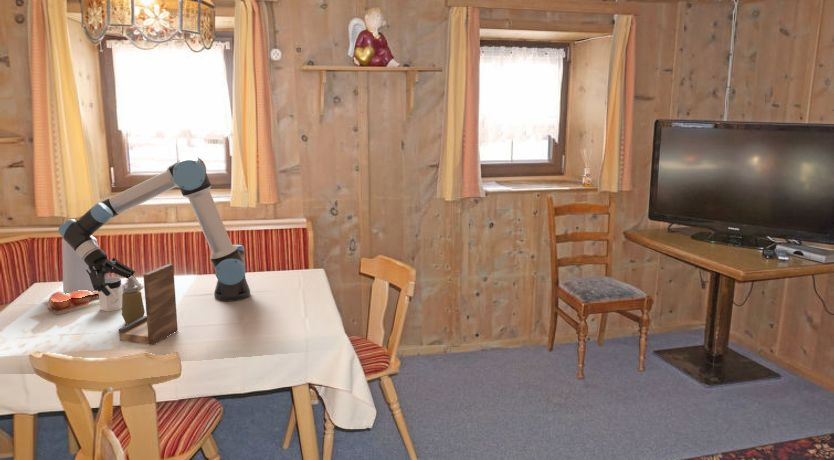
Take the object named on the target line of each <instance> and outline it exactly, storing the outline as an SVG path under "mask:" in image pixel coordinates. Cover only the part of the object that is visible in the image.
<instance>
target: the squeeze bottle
mask: <svg viewBox="0 0 834 460" xmlns="http://www.w3.org/2000/svg"><path fill="white" fill-rule="evenodd" d="M127 280H128V281H127V286H124V291H123V294H122V308H121V316H122V319H123V320H124V322H125V324H126V325H128V324H130V323H132V322H133V321H135V320H137V319H139V318H141V317H143V316H145V314H146V310H145V306H144V302H143V297H142V292H141V290H140V291H138V286H136V285H134V282H133V279H132V277H130V278H129V279H128V278H127Z"/></svg>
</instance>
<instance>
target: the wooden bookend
mask: <svg viewBox="0 0 834 460" xmlns="http://www.w3.org/2000/svg"><path fill="white" fill-rule="evenodd" d="M175 286H176V285H175V271H174V264H173V263H167V264H165V265H162V266H160V267H158V268H155V269H152V270H151V271H148V272H146V273H143V289H144V300H145V302H144V303H145V315H144V316H143V317H141V318H139V319H137V320H135V321H133V322H132V323H130V324H126V325H124V326H122V327H119V328H118V338H119V341H120V342H123V343H124V342H125V343H126V342H127V343H133V344H134V343H135V344H141V345H147V344H149V345H148V346H155V345H157V344H158V342H159V343H160V342H162V341H163V339H164V338H165V339H167V338H168V337H167V336H169V335H170V334H172V333H174V332H175V333H177V332H178V331H179V329H178V314H177V303H176V301H177V300H176V287H175ZM177 330H178V331H177ZM176 331H177V332H176ZM175 333H174V334H175ZM172 335H173V334H172ZM170 336H171V335H170ZM170 336H169V337H170ZM166 337H167V338H166ZM165 339H164V340H165ZM161 340H162V341H161ZM156 343H157V344H156Z"/></svg>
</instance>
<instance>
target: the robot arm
mask: <svg viewBox="0 0 834 460" xmlns="http://www.w3.org/2000/svg"><path fill="white" fill-rule="evenodd" d="M208 176H209V175H208V173H207V167H206V164H205V162H204V161H203V160H202V158H199V157H198V156H195V155H186V156H184V157H181V158H180V159H179V160H177V162H175V163H173V164H172V165H169V166H167V168H166V170H165V171H163V172H160V173H159V174H157V175H154V176H152V177H150V178H148V179H146V180H144V181H142V182H140V183H138V184H136V185H134V186H132V187H129V188H127V189H126V190H123V191H121V192H119V193H117V194H114V195H113V196H111V197H109V198H107V199H104V200H103V201H99V202H97V203H95V204H94V205H93V206H92V207H91V208H90V209H88V210H87V211H86V212H85V213H84V214H83V215H82V216H80V218H78V219H77V220H76V219H74V218H70V219H68V220H66V221H65V222H62V223H61V224H60V225H59V226H58V228H57V232H58V234H59V235H60V236H61V237H62V239H64V240H65V241H66V242H67V243H68V244H69V245H70V246H71V247H72V248H73V249H74V250H75V252H76V253H77V254H78V255H79V256H80V257H81V258H82V259H83V260H84V262H85V263H86V264H87V265H88V266H89V267H88V269H87V270H86V271H87V273H88V274H89V276H90V279H91V282H92V285H93V288H94V290H95V291H96V290H97V291H98V292H100V291H102V292H103V293H104V294H105V295H106V296H108V298H109V299H110V300H111V301H112V302H113V303H115V302H116V301H117V300H118V299H119V298H118V297H117V296H116V294H115V293H114V292H113V291H112V290H111V289H110V288H109V287H108V285H107V286H106V287H105V278H106V277H105V275H106V274H116V275H117V276H121V277H123V278H126V279H127V280H126V281H127V282H128V279H129V278H130V277H132V279H133V282H134V285H136V286H138V291H140V292H141V291H142V290H143V289H144V286H142V285H141V284H140V283H139V281H138V279H137V278H136V277H135V276H134V275H135V273H136V271H135V269H134V270H133V269H132V268H130V267H129V266H127V265H126V264H124V263H122V262H121V261H119V260H118V259H117V258H116V257H112V258H111V259H108V256H107V255H108V254H107V253H105V251H104V250H103V249H102V248H101V247H100V246H99V244H98V245H97V243H98V242H97V243H96V242H95V241H94V240H93V239H92V238H91V237H90V236H91V235H92V236H93V234H95V232H97V231H98V230H99V229H100V228H102V227H103V226H104V225H105V224H106V223H108V222H109V221H110V220H112V219H113V218H115V217H117V216H119V215H120V214H123V213H125V212H127V211H129V210H131V209H133V208H136V207H137V206H139V205H141V204H143V203H145V202H147V201H150V200H152V199H154V198H156V197H158V196H160V195H163V194H164V193H167V192H168V191H170V190H172V189H175V188H179V190H180V192H181V194H182V197H184V198H186V199H188V202H190V205H191V208H192V210H193V213H194V214H195V217H196V219H197V221H198V224H199V226H200V228H201V230H202V232H203V236H204V237H205V240H206V242H207V245H208V247H209V250H210V252H211V254H210V256H209V258H210V262H211V263H212V266H213V268H214V274H215V277H216V279H217V281H216V285H215V288H214V292H213V293H214V299H215V300H217V301H221V302H222V301H223V302H237V301H241V300H245V299H248V298H250V296H251V289H250V287H249V284H248V281H247V279H246V273H247V271H246V270H247V268H246V262H245V256H246V255H245V247H244V245H242V244H232V241H231V239H230V236H229V234H228V232H227V229H226V228H225V224H224V223H223V220H222V217H221V215H220V213H219V210H218V207H217V205H216V203H215V201H214V199H213V195H212V193H211V188H212V183H211V181H210V179H209V177H208ZM96 272H97V274H96Z"/></svg>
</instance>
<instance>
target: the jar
mask: <svg viewBox="0 0 834 460" xmlns="http://www.w3.org/2000/svg"><path fill="white" fill-rule="evenodd" d="M107 285H108V287H109V288H110V289H111V290H112V291H113V292H114V293H115V294H116V296H117V297H118V298H119V299H118V300H117V301H116V302H115V303H113V302H112V301H111V300H110V299H109V298H108V296H106V295H105V294H104V293H103V292H102V291H100V292H99V294H98V299H99V308H100V309H99V310H101V311H104V312H113V311H120V310H122V294H123V293H124V288H123V287H124V286H123V284H122V279H121V278H120V277H114V276H112V277H105V287H106V286H107Z"/></svg>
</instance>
